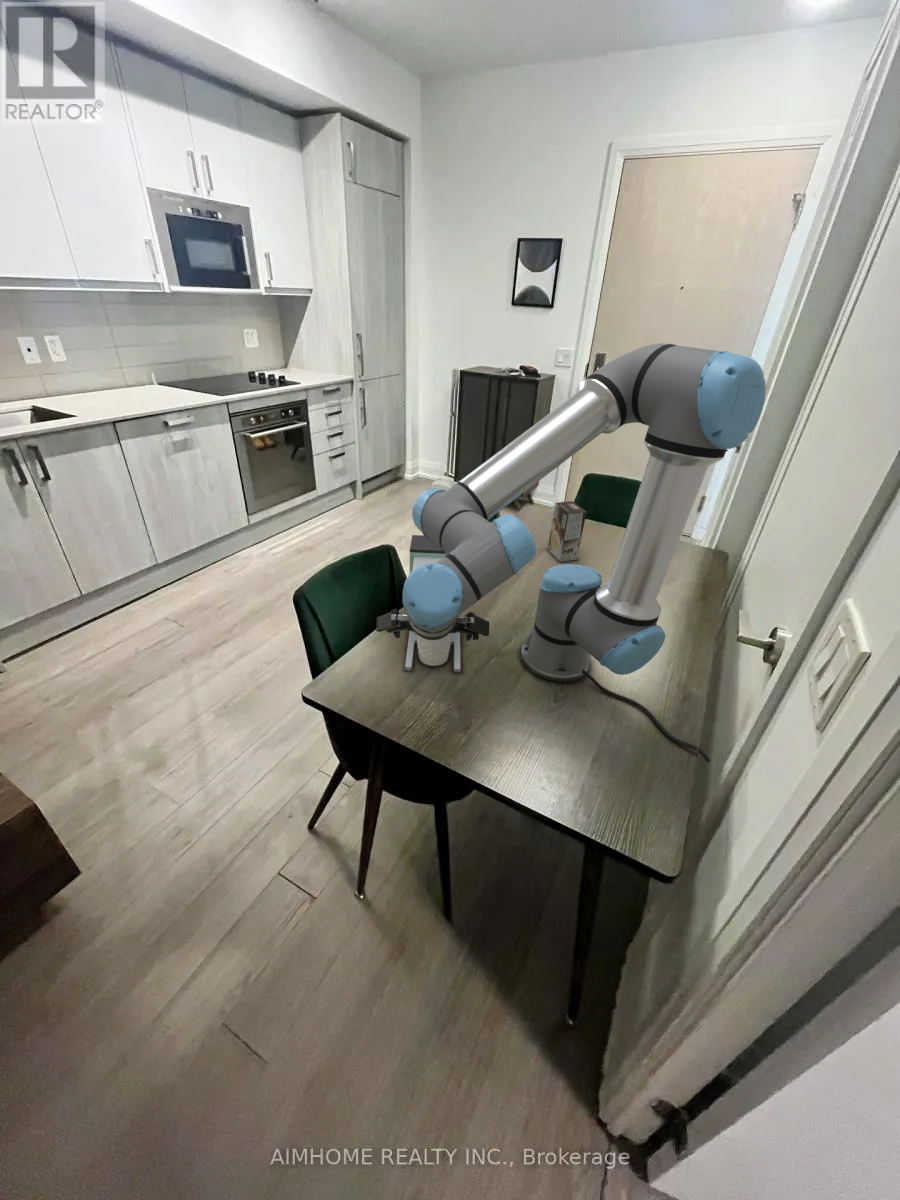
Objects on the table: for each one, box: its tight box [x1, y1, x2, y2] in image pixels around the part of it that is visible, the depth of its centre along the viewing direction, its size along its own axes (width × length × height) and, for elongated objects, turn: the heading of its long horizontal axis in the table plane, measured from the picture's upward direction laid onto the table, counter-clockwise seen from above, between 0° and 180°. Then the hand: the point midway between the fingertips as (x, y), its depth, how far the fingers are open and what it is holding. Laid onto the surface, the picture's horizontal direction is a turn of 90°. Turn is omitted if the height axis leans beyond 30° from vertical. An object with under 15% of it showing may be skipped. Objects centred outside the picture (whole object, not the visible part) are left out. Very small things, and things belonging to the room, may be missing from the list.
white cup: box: [417, 633, 452, 667], centre depth 107 cm, size 8×8×10 cm
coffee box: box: [547, 500, 588, 562], centre depth 150 cm, size 9×6×16 cm
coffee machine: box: [404, 534, 462, 673], centre depth 107 cm, size 20×12×23 cm, turn 0°
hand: (433, 632), depth 95 cm, fingers open, 13 cm apart
